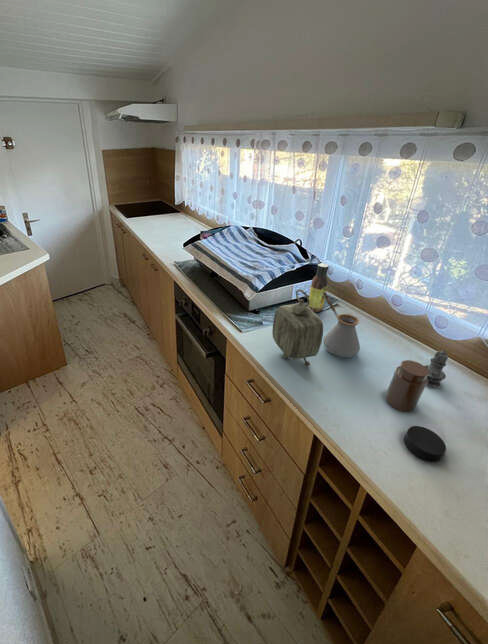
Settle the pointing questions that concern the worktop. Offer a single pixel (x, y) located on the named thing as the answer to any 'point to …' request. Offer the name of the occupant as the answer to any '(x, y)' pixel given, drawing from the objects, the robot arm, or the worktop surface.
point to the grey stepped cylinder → (436, 369)
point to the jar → (407, 385)
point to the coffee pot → (342, 335)
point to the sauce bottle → (318, 288)
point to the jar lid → (424, 444)
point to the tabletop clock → (297, 330)
